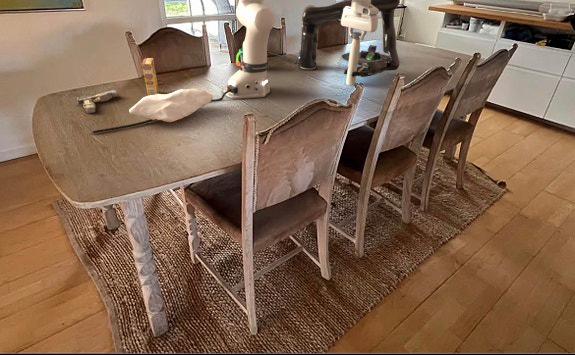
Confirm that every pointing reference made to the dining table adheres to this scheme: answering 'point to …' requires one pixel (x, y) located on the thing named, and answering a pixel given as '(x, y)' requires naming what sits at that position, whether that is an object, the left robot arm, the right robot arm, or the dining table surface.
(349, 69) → the cream tall cylinder
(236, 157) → the dining table surface
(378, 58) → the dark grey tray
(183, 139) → the dining table surface
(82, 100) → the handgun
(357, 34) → the cap
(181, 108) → the crumpled cloth
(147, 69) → the candy box
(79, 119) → the dining table surface
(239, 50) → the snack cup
